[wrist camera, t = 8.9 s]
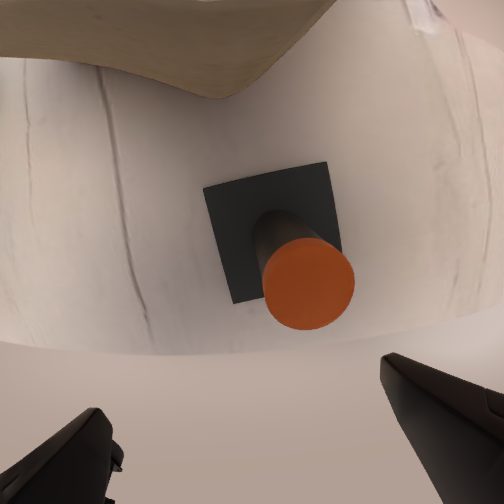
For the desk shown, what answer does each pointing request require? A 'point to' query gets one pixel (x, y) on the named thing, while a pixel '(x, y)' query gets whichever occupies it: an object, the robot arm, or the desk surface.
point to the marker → (300, 272)
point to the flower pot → (162, 37)
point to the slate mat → (258, 203)
